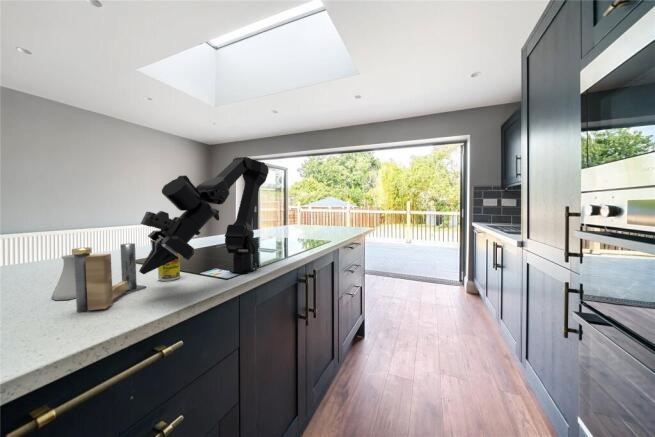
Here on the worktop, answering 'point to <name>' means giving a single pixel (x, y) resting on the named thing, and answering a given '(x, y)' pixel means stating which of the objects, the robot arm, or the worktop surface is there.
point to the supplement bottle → (169, 270)
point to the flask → (66, 281)
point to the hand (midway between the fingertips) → (141, 272)
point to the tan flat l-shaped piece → (101, 282)
